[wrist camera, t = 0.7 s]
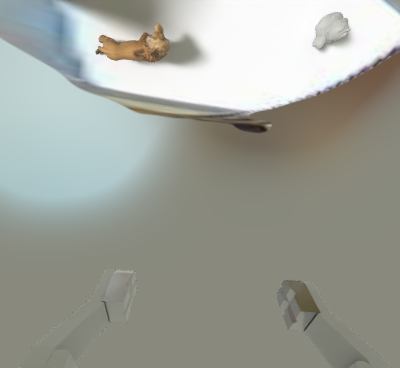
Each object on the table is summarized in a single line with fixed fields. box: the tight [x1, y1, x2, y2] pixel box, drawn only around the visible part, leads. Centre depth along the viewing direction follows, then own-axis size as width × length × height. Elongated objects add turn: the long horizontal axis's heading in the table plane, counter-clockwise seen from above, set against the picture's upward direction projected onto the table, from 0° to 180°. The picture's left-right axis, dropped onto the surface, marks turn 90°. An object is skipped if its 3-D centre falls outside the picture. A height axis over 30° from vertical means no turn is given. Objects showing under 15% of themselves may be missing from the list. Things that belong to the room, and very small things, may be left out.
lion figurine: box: [96, 24, 169, 62], centre depth 35 cm, size 15×5×9 cm, turn 100°
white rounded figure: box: [313, 12, 351, 49], centre depth 39 cm, size 5×7×8 cm
